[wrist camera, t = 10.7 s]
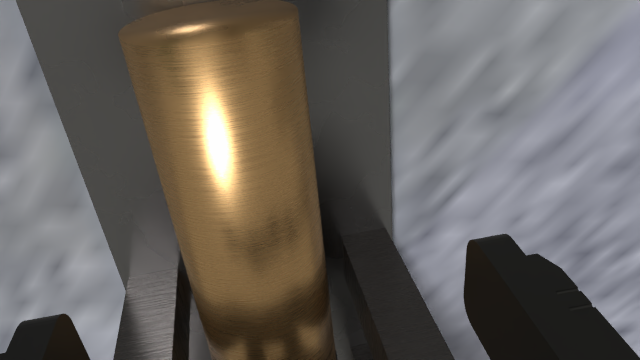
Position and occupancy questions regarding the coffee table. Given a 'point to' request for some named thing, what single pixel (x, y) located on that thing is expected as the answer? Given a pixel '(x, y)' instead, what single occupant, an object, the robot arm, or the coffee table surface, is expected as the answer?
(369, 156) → the dark grey holder
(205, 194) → the tube
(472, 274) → the robot arm
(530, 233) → the coffee table surface
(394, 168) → the coffee table surface
